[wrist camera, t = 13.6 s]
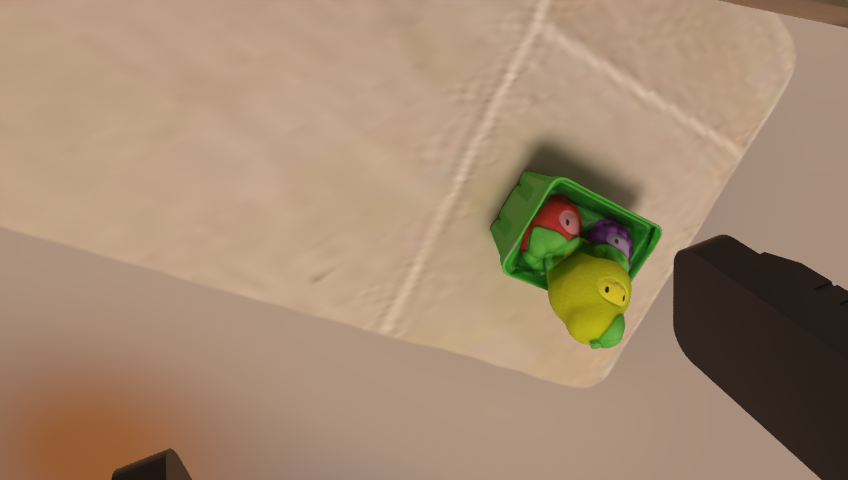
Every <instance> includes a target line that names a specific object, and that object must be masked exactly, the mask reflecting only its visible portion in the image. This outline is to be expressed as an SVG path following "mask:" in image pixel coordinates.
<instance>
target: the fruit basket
mask: <svg viewBox="0 0 848 480" xmlns="http://www.w3.org/2000/svg"><path fill="white" fill-rule="evenodd" d="M490 230H491V232H492V235H493V238H494V241H495V243H496V246H497V249H498V251H499V254H500V261H501V265H502V269H503V272H504V273H505V274H506V275H508V276H511V277H513V278H516V279H519V280H522V281H524V282H527V283H530V284H532V285H535V286H537V287H540V288H542V289H545V290H547V291H548V296H549V301H550V304H551V306H552V308H553V310H554V312H555V313H556V314H557V316H558V317H559V318H560V319H561V320H562V321H563V322H564V323H565V325H566V327H567V329H568V331H569V333H570V335H571V336H572V337H573V338H574V339H575V340H577V341H578V342H580V343H583V344H588V345H590V346H591V348H593V349H597V348H600V347H601V348H610V347H613V346H615V345H617V344H618V343H619V342H620V341H621V339H622V335H623V333H624V329H625V321H624V316H623V315H624V313H625V311H626V309H627V307H628V305H629V302H630V297H631V281H632V280H633V278H634V277H635V276H636V274H637V273H638V271H639V270H640V268H641V267H642V266H643V264H644V263H645V261H646V259H647V258H648V257H649V255H650V254H651V253H652V251H653V250H654V248H655V246H656V245H657V243H658V241H659V240H660V238H661V235H662V229H661V227H660V226H659V225H657V224H655V223H653V222H651V221H649V220H647V219H645V218H643V217H641V216H639V215H637V214H635V213H633V212H631V211H629V210H627V209H625V208H623V207H621V206H620V205H618V204H616V203H614V202H612V201H610V200H608V199H606V198H605V197H603V196H600V195H599V194H597V193H595V192H593V191H591V190H589V189H587V188H585V187H583V186H581V185H580V184H578V183H576V182H574V181H572V180H570V179H568V178H565V177H560V176H554V177H551V176H546V175H542V174H538V173H534V172H530V171H525V172H524V173H523V174H522V176H521V178H520V182H519V185H517V186H516V188H514V190H513V191H512V193H511V194H510V196H509V198H508V199H507V201H506V203H505V204H504V206H503V208H502V210H501V211H500V215H499V219H497V220H496V221H495V222H494V223H493V225H492V226H491V229H490Z"/></svg>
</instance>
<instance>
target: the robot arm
mask: <svg viewBox="0 0 848 480" xmlns="http://www.w3.org/2000/svg"><path fill="white" fill-rule="evenodd" d="M720 1H724V2H729V3H733V4H737V5H741V6H746V7H751V8H756V9H760V10H765V11H770V12H775V13H779V14H784V15H789V16H794V17H799V18H804V19H808V20H813V21H817V22H822V23H827V24H832V25H836V26H841V27H846V28H848V0H720ZM673 290H674V296H673V300H674V301H673V307H674V308H673V326H674V332H675V336H676V338H677V341H678V343H679V345H680V347H681V349H682V351H683V352H684V353H685V355H686V356H687V357H688V359H689V360H690V361H691V362H692V363H693V364H694V365H695V366H697V367H698V368H699V369H700V370H701V371H702V372H703V373H704V374H705V375H707V376H708V377H709V378H710V379H711V380H712V381H713V382H714V383H716V385H718V386H719V387H720V388H721V389H722V390H723V391H724V392H726V394H728V395H729V396H730V397H731V398H732V399H733V400H734V401H735V402H737V403H738V404H739V405H740V406H741V407H742V408H743V409H744V410H745V411H746V412H747V413H749V414H750V415H751V416H752V417H753V418H754V419H755V420H756V421H758V422H759V423H760V424H761V425H762V426H763V427H764V428H765V429H766V430H767V431H768V432H770V433H771V434H772V435H773V436H774V437H775V438H776V439H777V440H778V441H780V442H781V443H782V444H783V445H784V446H785V447H786V448H787V449H788V450H789V451H791V452H792V453H793V454H794V455H795V456H796V457H797V458H798V459H799V460H800V461H802V462H803V463H804V464H805V465H806V466H807V467H808V468H809V469H810V470H811V471H813V472H814V473H815V474H816V475H817V476H818V477H819V478H820V479H821V480H848V291H847V290H845V289H843V288H842V287H840V286H838V285H836V286H833V285H832V282H831V281H830V280H828V279H827V278H825V277H823V276H822V275H820V274H818V273H817V272H815V271H813V270H812V269H810V268H808V267H806V266H805V265H803V264H802V263H799V262H795V261H792V260H789V259H785V258H782V257H779V256H776V255H772V254H769V253H766V252H764V253H761V254H758V253H757V252H755V251H754V250H752V249H750V248H749V247H747V246H745V245H744V244H742V243H740V242H739V241H737V240H736V239H734V238H732V237H730V236H728V235H718V236H716V237H713V238H711V239H708V240H705V241H703V242H701V243H698V244H695V245H693V246H690V247H688V248H685V249H682V250H680V251H679V252H678V253H677V254H676V256H675V258H674V289H673ZM112 480H192V479H191V477H190V475H189V474H188V472H187V470H186V468H185V466H184V465H183V463H182V461H181V460H180V458H179V456H178V455H177V453H176V452H175V451H174V450H173V449H167V450H165V451H162V452H159V453H157V454H154V455H152V456H149V457H147V458H144V459H142V460H139V461H136V462H134V463H131V464H129V465H126V466H124V467H121V468H119V469H116V470H115V471H114V473H113V475H112Z"/></svg>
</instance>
